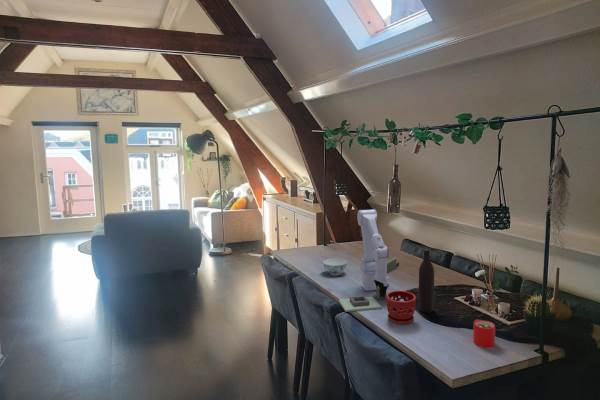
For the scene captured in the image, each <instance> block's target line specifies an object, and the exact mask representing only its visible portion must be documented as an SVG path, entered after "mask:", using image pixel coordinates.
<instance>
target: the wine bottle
mask: <svg viewBox="0 0 600 400" xmlns="http://www.w3.org/2000/svg"><path fill="white" fill-rule="evenodd" d="M430 254H431V249H430V248H429V249H428V248H425V249H424V250H423V260H422V261H421V264H420V265H419V268H418V311H419V312H420V311H422V312H421V313H423V312H432V311H433V312H434V309H435V268H434V265H433V263H432V261H431V257H430ZM433 312H432V313H433Z"/></svg>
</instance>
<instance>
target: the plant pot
mask: <svg viewBox="0 0 600 400" xmlns="http://www.w3.org/2000/svg"><path fill="white" fill-rule="evenodd" d="M385 300H386V309H387V312H388V314H387V318H388V320H389V321H390V322H392V323H395V324H397V325H407V324H411V323H412V322H413V321H414V318H415V317H414V314H415V311H416V305H417V304H416V303H417V297H416V295H415V294H414V293H412V292H409V291H405V290H393V291H392V290H391V291H390V292H387V293H386V299H385ZM400 300H402V301H400Z"/></svg>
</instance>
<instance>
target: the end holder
mask: <svg viewBox="0 0 600 400" xmlns="http://www.w3.org/2000/svg"><path fill="white" fill-rule="evenodd" d="M338 303H339V305H340V306H341V307H342V309H343V310H344V312H345V313H346V312H350V313H351V312H358V311H361V312H362V311H371V310H380V309H381V310H382V305H381V304H380V303H378V301H377V300H376V299H375V298H374V296H366V295H359V296H358V295H357V296H349V298H339V299H338Z"/></svg>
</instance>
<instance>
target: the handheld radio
mask: <svg viewBox="0 0 600 400" xmlns="http://www.w3.org/2000/svg"><path fill="white" fill-rule="evenodd" d="M399 265H400V262H397V257H396V256H394V257H392V258H390V259H389V260H387V274H388V273H389V272H391V271H393V270H394V269H396V268H397V266H399Z"/></svg>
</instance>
